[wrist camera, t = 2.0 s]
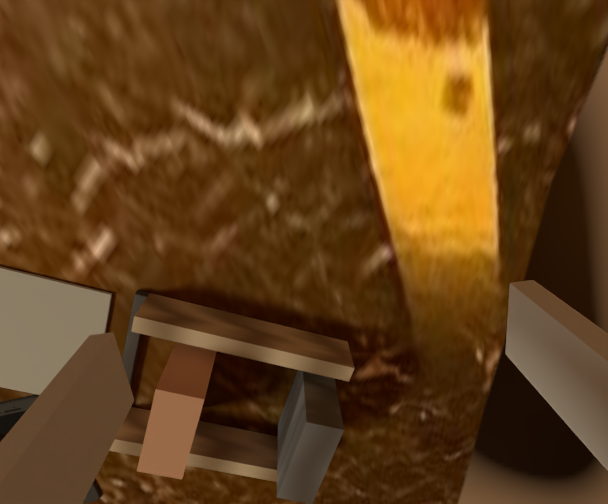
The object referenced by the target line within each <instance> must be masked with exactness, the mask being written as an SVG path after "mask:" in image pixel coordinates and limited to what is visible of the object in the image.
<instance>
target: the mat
mask: <svg viewBox="0 0 608 504" xmlns="http://www.w3.org/2000/svg"><path fill="white" fill-rule="evenodd" d="M111 299H112V293H109V292H105V291H101V290H97V289H93V288H89V287H85V286H81V285H76V284H72V283H68V282H64V281H60V280H56V279H52V278H48V277H43V276H39V275H35V274H31V273H27V272H23V271H19V270H15V269H10V268H6V267H2V266H0V387H3V388H8V389H13V390H18V391H23V392H28V393H33V394H38V395H40V394H41V393H42V392H43V390H44V389H45V388H46V387H47V386H48V384H49V383H50V382H51V381H52V380H53V378H54V377H55V376H56V375H57V374H58V373H59V371H60V370H61V369H62V368H63V367H64V365H65V364H66V363H67V362H68V361H69V359H70V358H71V357H72V356H73V355H74V353H75V352H76V351H77V350H78V349H79V347H80V346H81V345H82V344H83V343H84V341H85V340H86V339H87V338H88V337H89V335H95V334H103V333H106V328H107V322H108V316H109V311H110V305H111Z"/></svg>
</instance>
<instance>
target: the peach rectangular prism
mask: <svg viewBox="0 0 608 504" xmlns="http://www.w3.org/2000/svg"><path fill="white" fill-rule="evenodd" d="M216 352H217V351H214V350H209V349H205V348H201V347H196V346H192V345H188V344H183V343H179V342H176V343H175V345H174V348H173V350H172V352H171V355H170V357H169V359H168V362H167V364H166V366H165V369H164V371H163V373H162V376H161V378H160V380H159V383H158V385H157V387H156V390H155V394H154V399H153V403H152V407H151V412H150V416H149V420H148V425H147V429H146V433H145V438H144V442H143V446H142V451H141V455H140V460H139V464H138V468H137V471H138V472H144V473H149V474H155V475H161V476H166V477H172V478H177V479H182V478H183V474H184V471H185V467H186V464H187V460H188V456H189V453H190V449H191V446H192V442H193V439H194V435H195V432H196V428H197V424H198V421H199V417H200V414H201V410H202V407H203V403H204V400H205V396H206V392H207V388H208V384H209V380H210V376H211V372H212V368H213V364H214V360H215V356H216Z"/></svg>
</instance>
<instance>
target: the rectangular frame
mask: <svg viewBox="0 0 608 504" xmlns="http://www.w3.org/2000/svg"><path fill="white" fill-rule="evenodd" d="M141 334H144V335H149V336H153V337H157V338H162V339H166V340H170V341H175V342H179V343H183V344H188V345H192V346H196V347H201V348H205V349H209V350H214V351H218V352H222V353H227V354H231V355H235V356H240V357H244V358H248V359H253V360H257V361H261V362H266V363H270V364H274V365H279V366H283V367H287V368H292V369H296V370H298V371H297V373H296V376H295V379H294V382H293V384H292V387H291V390H290V393H289V395H288V398H287V401H286V404H285V406H284V409H283V412H282V415H281V417H280V420H279V423H278V436H273V435H268V434H263V433H258V432H253V431H248V430H243V429H238V428H234V427H229V426H224V425H219V424H214V423H209V422H204V421H198V424H197V428H196V432H195V435H194V439H193V442H192V446H191V449H190V453H189V456H188V460H187V464H186V465H189V466H194V467H200V468H205V469H210V470H216V471H221V472H226V473H232V474H237V475H243V476H248V477H253V478H259V479H264V480H269V481H275V482H277V498H282V499H288V500H293V501H299V502H304V503H310V504H312V503H313V501H314V498H315V496H316V494H317V492H318V489H319V487H320V485H321V482H322V480H323V478H324V475H325V473H326V471H327V468H328V466H329V464H330V462H331V459H332V457H333V455H334V452H335V450H336V448H337V445H338V443H339V441H340V439H341V436H342V434H343V432H344V426H343V421H342V415H341V410H340V405H339V399H338V394H337V388H336V383H335V379H340V380H344V381H348V382H349V381H350V378H351V376H352V373H353V371H354V369H355V368H354V364H353V360H352V356H351V353H350V349H349V345H348V341H344V340H340V339H336V338H332V337H328V336H323V335H319V334H315V333H311V332H307V331H303V330H299V329H295V328H291V327H287V326H283V325H279V324H275V323H271V322H267V321H262V320H258V319H254V318H250V317H246V316H242V315H238V314H234V313H230V312H226V311H222V310H218V309H214V308H210V307H206V306H201V305H197V304H193V303H189V302H185V301H181V300H177V299H173V298H169V297H165V296H161V295H157V294H153V293H149V292H145V291H140V290H138V291H137V292H136V293H135V296H134V302H133V307H132V312H131V317H130V322H129V328H128V333H127V338H126V343H125V349H124V354H123V359H122V362H123V365H124V369H125V372H126V375H127V378H128V381H129V384H130V388H131V383H132V378H133V373H134V368H135V363H136V358H137V354H138V349H139V344H140V339H141ZM150 412H151V411H150V410H145V409H140V408H135V407H131V408H130V410H129V412H128V414H127V416H126V418H125V420H124V422H123V424H122V426H121V428H120V430H119V432H118V434H117V436H116V438H115V440H114V442H113V444H112V446H111V448H110V450H109V451H114V452H119V453H125V454H130V455H135V456H140V455H141V451H142V446H143V442H144V438H145V433H146V429H147V425H148V420H149V416H150Z"/></svg>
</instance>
